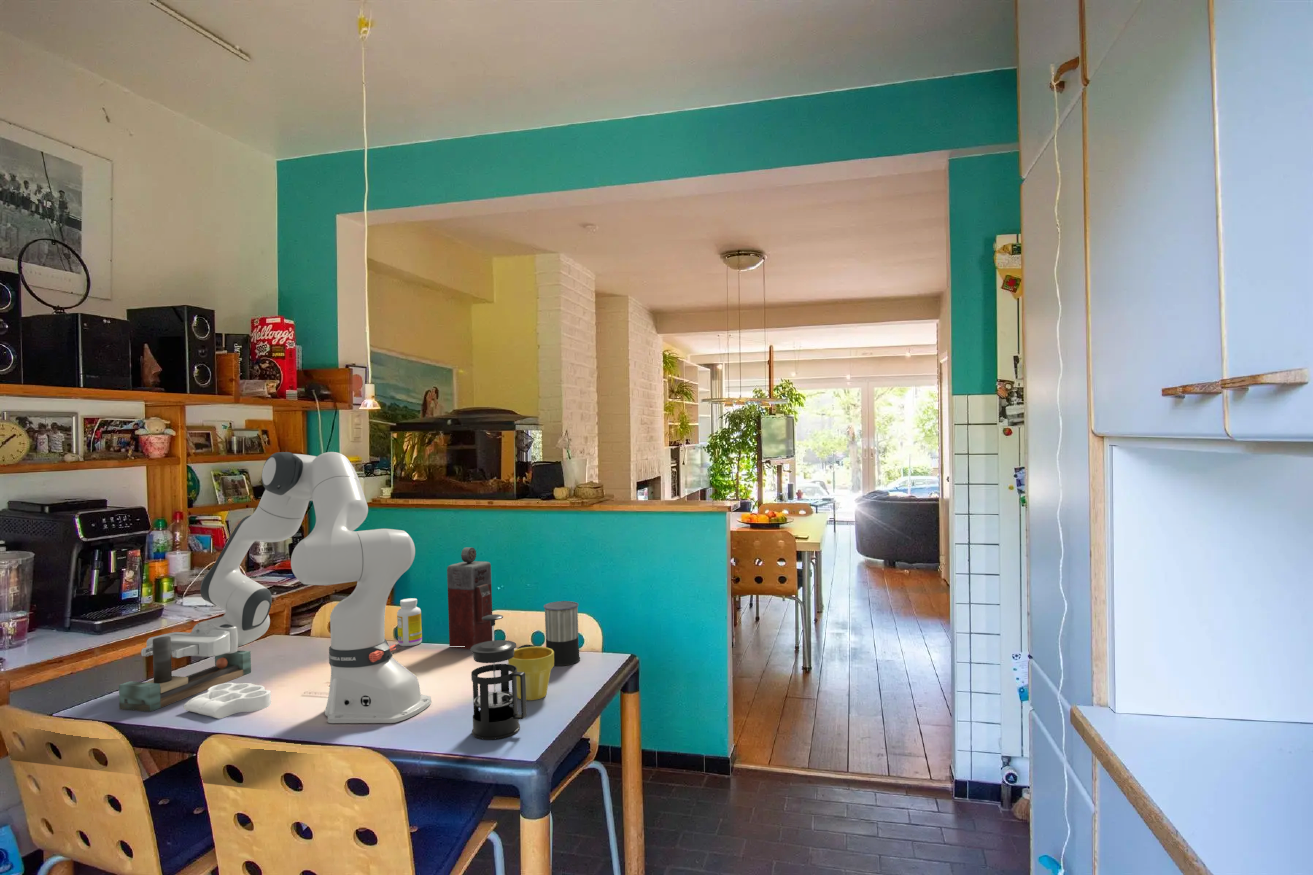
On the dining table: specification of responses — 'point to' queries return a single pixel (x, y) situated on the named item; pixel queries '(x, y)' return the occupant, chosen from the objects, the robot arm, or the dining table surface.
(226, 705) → the white paint palette
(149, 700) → the rail track
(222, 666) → the button
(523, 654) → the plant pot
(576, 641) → the milk frother
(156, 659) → the cylinder
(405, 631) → the supplement bottle
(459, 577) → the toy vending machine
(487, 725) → the french press
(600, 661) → the dining table surface
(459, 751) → the dining table surface
